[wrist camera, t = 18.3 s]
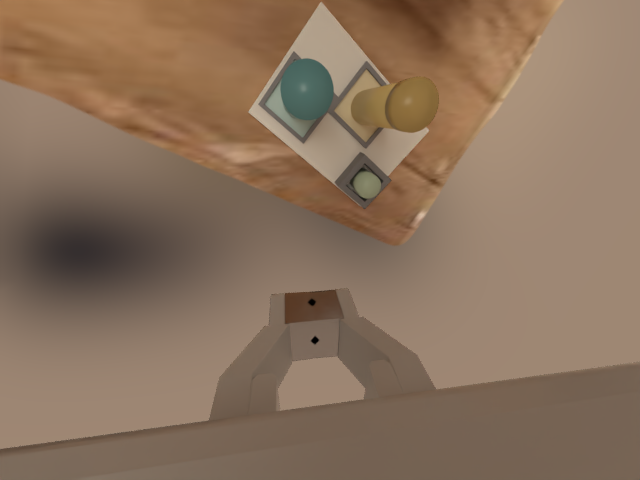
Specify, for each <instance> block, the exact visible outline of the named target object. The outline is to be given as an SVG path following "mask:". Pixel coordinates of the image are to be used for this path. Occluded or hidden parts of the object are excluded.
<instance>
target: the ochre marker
mask: <svg viewBox="0 0 640 480" xmlns="http://www.w3.org/2000/svg"><path fill="white" fill-rule="evenodd" d="M438 104H439V95H438V91H437V88H436V86H435V84H434V83H433V82H432V81H431V80H430V79H428V78H426V77H421V76H420V77H413V78H409V79H405V80H402V81H401V82H398V83H393V84H389V85H384V86H380V87H376V88H371V89H367V90H363V91H361V92H359V93H358V94H357V95H356V96H355V97H354V99H353V101H352V104H351V114H352V117H353V119H354V120H355V121H356V122H357V123H359V124H361V125H367V126H374V127H381V128H389V129H395V130H397V131H401V132H408V133H415V132H418V131H421V130H423V129H424V128H425V127H427V126H428V125H429V124H430V123H431V121H432V120H433V118H434V117H435V114H436V112H437V109H438Z"/></svg>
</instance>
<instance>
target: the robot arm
mask: <svg viewBox="0 0 640 480" xmlns="http://www.w3.org/2000/svg"><path fill="white" fill-rule="evenodd" d="M335 356H338V358H339V359H340V360H341V361H342V362H343V364H344V365H345V366H346V367H347V368H348V369H349V370H350V371H351V373H353V375H354V376H355V377H356V378H357V379H358V381H359V382H360V383H361V384H362V385H363V386H364V387H365V395H364V400H356V401H349V402H342V403H334V404H327V405H320V406H312V407H305V408H298V409H291V410H283V411H280V405H279V396H278V388H279V386H280V384H281V382H282V380H283V379H284V377H285V375H286V373H287V371H288V369H289V368H290V366H291V364H292V361H298V360H306V359H312V358H323V357H335ZM0 480H640V362H634V363H627V364H620V365H613V366H605V367H598V368H591V369H583V370H576V371H568V372H561V373H554V374H546V375H539V376H532V377H525V378H517V379H510V380H502V381H495V382H488V383H481V384H473V385H466V386H458V387H451V388H444V389H436V388H435V387H434V385H433V383H432V381H431V379H430V377H429V375H428V374H427V372H426V370H425V368H424V367H423V365H422V363H421V361H420V359H419V358H418V356H417V355H416V354H415V353H414V352H412V351H411V350H409V349H408V348H407V347H405V346H404V345H402V344H401V343H399V342H398V341H397V340H395V339H394V338H392V337H391V336H390V335H388V334H387V333H385V332H384V331H383V330H381V329H380V328H378V327H377V326H375V325H374V324H373V323H371V322H370V321H368V320H367V319H366V318H364V317H359V315H358V312H357V310H356V307H355V304H354V302H353V299H352V297H351V294H350V292H349V289H348V288H344V289H335V290H327V291H315V292H299V293H285V294H272V295H271V298H270V313H269V326H264V327H263V329H262V330H261V331H260V332H259V333H258V334H257V335H256V337H255V338H254V339H253V340H252V341H251V342H250V343H249V344H248V346H247V347H246V348H245V349H244V350H243V351H242V352H241V354H240V355H239V356H238V357H237V358H236V359H235V360H234V362H233V363H232V364H231V365H230V366H229V367H228V368H227V370H226V371H225V372H224V373H223V374H222V375H221V376H220V378H219V381H218V385H217V389H216V394H215V397H214V402H213V406H212V410H211V414H210V418H209V421H202V422H195V423H187V424H181V425H173V426H165V427H158V428H151V429H143V430H136V431H129V432H121V433H114V434H107V435H100V436H93V437H85V438H78V439H70V440H63V441H55V442H48V443H41V444H34V445H26V446H19V447H12V448H4V449H0Z"/></svg>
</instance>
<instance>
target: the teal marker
mask: <svg viewBox="0 0 640 480" xmlns="http://www.w3.org/2000/svg"><path fill="white" fill-rule="evenodd" d="M280 91H281V98H282V102H283V106H284V109H285V110H286V112H287V113H288V114H289V115H290V116H291V117H293V118H296V119H301V120H314V119H317V118H319V117H321V116H322V115H323V114H324V113H326V111H327V110H328V109H329V107H330V105H331V103H332V100H333V94H334V87H333V81H332V78H331V76H330V74H329V72H328V70H327V69H326V68H325V67H324V66H323V65H322V64H321V63H319V62H318V61H316V60H313V59H308V58H304V59H299V60H297V61H295V62H293V63H292V64H290V65H289V67H288V68H287V69H286V70H285V72H284V74H283V77H282V80H281V86H280Z"/></svg>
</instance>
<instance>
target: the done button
mask: <svg viewBox="0 0 640 480" xmlns="http://www.w3.org/2000/svg"><path fill="white" fill-rule="evenodd" d="M350 184H351V186H352V187H353V188H354V190H355V191H356V192H357V193H358V194H359V195H360V196H361V197H363V198H366V199H370V198H373V197H375V196H376V195H377V194H378V193H379V191H380V189H381V182H380V180H379V178H378V177H377V176H375V175H374V174H372V173H371V172H369V171H368V170H366V169H363V168H361V169H360V170H359V171H358V172H357V173H356V174H355V175H354V177H353V178H352V179H351V180H350Z"/></svg>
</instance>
